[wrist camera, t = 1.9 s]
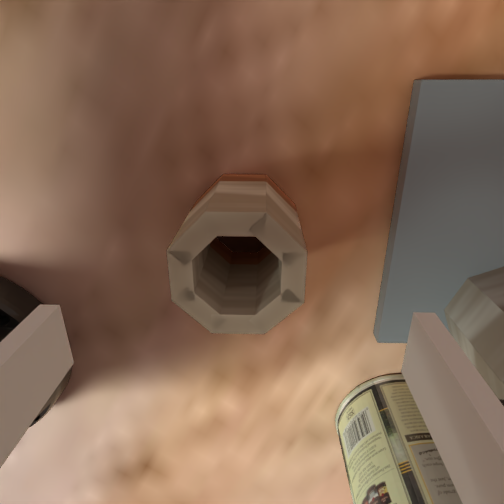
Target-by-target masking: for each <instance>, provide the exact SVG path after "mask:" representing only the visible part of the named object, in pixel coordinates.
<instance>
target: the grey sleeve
mask: <svg viewBox="0 0 504 504" xmlns="http://www.w3.org/2000/svg"><path fill="white" fill-rule="evenodd" d="M444 312H445V316H446V320H447V324H448V328H449V332H450V334H451V335H452V337H453V338H454V339H455V341H456V342H457V344H458V345H459V346H460V348H461V349H462V350H463V352H464V353H465V354H466V356H467V357H468V359H469V360H470V361H471V363H472V364H473V365H474V367H475V368H476V369H477V371H478V372H479V373H480V375H481V376H482V378H483V379H484V380H485V382H486V383H487V384H488V386H489V387H490V388H491V390H492V391H493V393H494V394H495V395H496V397H497V398H498V399H502V400H504V267H501V268H498V269H494V270H491V271H488V272H485V273H482V274H479V275H475V276H472V277H469V278H467V280H466V281H465V282H464V284H463V285H462V286H461V288H460V289H459V290H458V292H457V293H456V294H455V296H454V297H453V298H452V300H451V301H450V302H449V304H448V305H447V306H446V308H445V309H444Z"/></svg>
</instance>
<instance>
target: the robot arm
mask: <svg viewBox="0 0 504 504" xmlns="http://www.w3.org/2000/svg"><path fill="white" fill-rule="evenodd" d="M73 364H74V361H73V357H72V352H71V348H70V344H69V340H68V336H67V332H66V328H65V324H64V320H63V316H62V312H61V308H60V305H42V304H41V303H40V302H39V301H38V300H37V299H36V298H35V297H33V296H32V295H31V294H29V293H28V292H27V291H25V290H24V289H22V288H21V287H19V286H18V285H16V284H14V283H12V282H11V281H9V280H7V279H5V278H2V277H0V468H1V466H2V465H3V464H4V462H5V461H6V459H7V458H8V456H9V455H10V454H11V452H12V451H13V449H14V448H15V446H16V445H17V444H18V442H19V441H20V439H21V438H22V436H23V435H24V434H25V432H26V431H27V429H28V428H29V427H31V426H32V425H34V424H35V423H36V422H38V421H39V420H40V419H42V418H43V417H44V416H45V415H46V414H47V413H48V411H49V410H50V409H51V408H52V407H53V405H54V404H55V402H56V401H57V399H58V398H59V396H60V395H61V393H62V392H63V390H64V389H65V387H66V385H67V383H68V381H69V378H70V374H71V367H72V365H73ZM401 372H402V375H403V377H404V379H405V381H406V383H407V385H408V387H409V390H410V392H411V394H412V396H413V398H414V400H415V402H416V405H417V407H418V409H419V411H420V413H421V415H422V417H423V420H424V422H425V424H426V426H427V428H428V430H429V433H430V435H431V437H432V439H433V441H434V443H435V445H436V448H437V450H438V452H439V454H440V456H441V458H442V460H443V463H444V465H445V467H446V469H447V471H448V473H449V475H450V478H451V480H452V482H453V484H454V486H455V488H456V491H457V493H458V495H459V497H460V499H461V501H462V503H463V504H504V400H502V399H498V398H497V397H496V395H495V394H494V393H493V391H492V390H491V388H490V387H489V386H488V384H487V383H486V382H485V380H484V379H483V378H482V376H481V375H480V373H479V372H478V371H477V369H476V368H475V367H474V365H473V364H472V363H471V361H470V360H469V359H468V357H467V356H466V354H465V353H464V352H463V350H462V349H461V348H460V346H459V345H458V344H457V342H456V341H455V339H454V338H453V337H452V335H451V334H450V333H449V331H448V330H447V329H446V327H445V326H444V325H443V323H442V322H441V320H440V319H439V318H438V316H437V315H436V314H435V313H424V312H413V317H412V322H411V326H410V331H409V336H408V341H407V346H406V350H405V355H404V360H403V365H402V370H401Z"/></svg>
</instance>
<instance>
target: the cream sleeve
mask: <svg viewBox="0 0 504 504" xmlns="http://www.w3.org/2000/svg"><path fill="white" fill-rule="evenodd" d="M217 236H254V237H257V238H258V239H259V240H260V241H261V242H262V243H263V244H264V245H265V246H264V247H263V248H262V249H261V250H260V251H259V252H232V251H231V250H230V249H229V248H228V247H226V246H225V245H224V244H223V243H222V242H221V241H220V240H219V239H218V238H217ZM167 261H168V271H169V280H170V290H171V300H172V301H173V302H174V303H175V304H176V305H177V306H179V307H180V308H181V309H182V310H184V311H185V312H186V313H187V314H189V315H190V316H191V317H192V318H194V319H195V320H196V321H197V322H198V323H200V324H201V325H202V326H203V327H205V328H206V329H207V330H208V331H210V332H211V333H222V334H265V333H267V332H268V331H269V330H271V329H272V328H273V327H274V326H276V325H277V324H278V323H279V322H281V321H282V320H283V319H284V318H286V317H287V316H288V315H289V314H291V313H292V312H293V311H294V310H296V309H297V308H298V307H300V306H301V305H302V304H303V303H304V297H305V281H306V266H307V249H306V245H305V241H304V237H303V233H302V229H301V225H300V222H299V218H298V214H297V210H296V206H295V203H294V202H293V201H292V200H291V199H290V198H289V197H288V196H287V195H286V194H285V193H284V192H283V191H282V190H281V189H280V188H279V187H278V186H277V185H276V184H275V183H274V182H273V181H272V180H271V179H270V178H269V177H268V176H267V175H266V174H223V175H222V176H221V177H220V178H219V179H218V180H217V181H216V182H215V183H214V184H213V185H212V186H211V187H210V188H209V189H208V190H207V191H206V192H205V193H204V194H203V195H202V196H201V197H200V198H199V199H198V200H197V201H196V202H195V204H194V205H193V207H192V209H191V210H190V212H189V214H188V215H187V217H186V219H185V220H184V222H183V224H182V226H181V227H180V229H179V231H178V232H177V234H176V236H175V237H174V239H173V241H172V242H171V244H170V246H169V247H168V249H167Z"/></svg>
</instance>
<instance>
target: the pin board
mask: <svg viewBox="0 0 504 504" xmlns="http://www.w3.org/2000/svg"><path fill="white" fill-rule="evenodd" d="M501 267H504V80H414V83H413V89H412V95H411V101H410V108H409V114H408V120H407V126H406V133H405V139H404V145H403V151H402V158H401V164H400V170H399V176H398V182H397V189H396V195H395V201H394V207H393V214H392V220H391V226H390V232H389V238H388V245H387V251H386V257H385V263H384V270H383V276H382V282H381V288H380V294H379V301H378V307H377V313H376V319H375V326H374V332H373V333H374V336H375V338H376V340H377V342H378V343H407V341H408V336H409V331H410V326H411V322H412V317H413V312H424V313H435V314H436V315H437V316H438V318H439V319H440V320H441V322H442V323H443V325H444V326H445V327H446V329H447V330H448V331H449V328H448V324H447V320H446V316H445V312H444V309H445V308H446V306H447V305H448V304H449V302H450V301H451V300H452V298H453V297H454V296H455V294H456V293H457V292H458V290H459V289H460V288H461V286H462V285H463V284H464V282H465V281H466V280H467V278H469V277H472V276H475V275H479V274H482V273H485V272H488V271H491V270H494V269H498V268H501ZM449 333H450V332H449Z"/></svg>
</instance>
